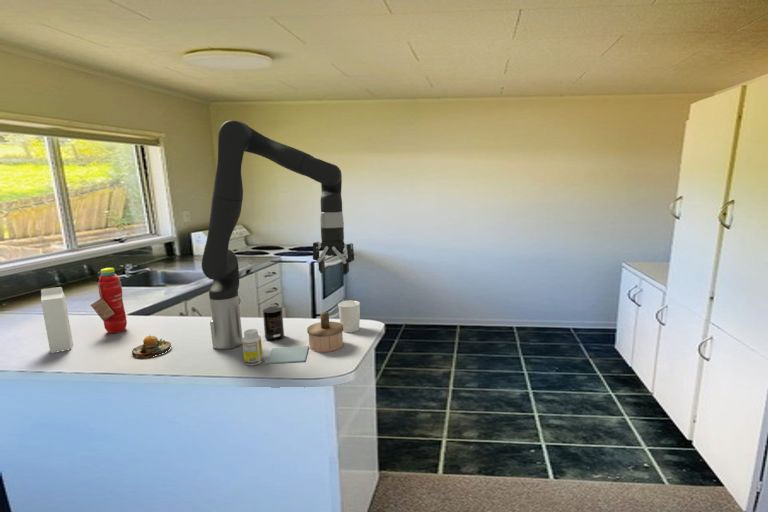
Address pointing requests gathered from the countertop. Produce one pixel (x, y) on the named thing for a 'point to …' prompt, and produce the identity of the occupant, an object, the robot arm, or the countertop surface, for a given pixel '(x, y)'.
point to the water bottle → (110, 302)
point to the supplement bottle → (252, 347)
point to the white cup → (349, 315)
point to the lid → (325, 327)
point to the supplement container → (273, 323)
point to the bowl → (326, 343)
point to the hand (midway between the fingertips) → (333, 273)
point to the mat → (287, 355)
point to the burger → (151, 347)
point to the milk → (56, 319)
